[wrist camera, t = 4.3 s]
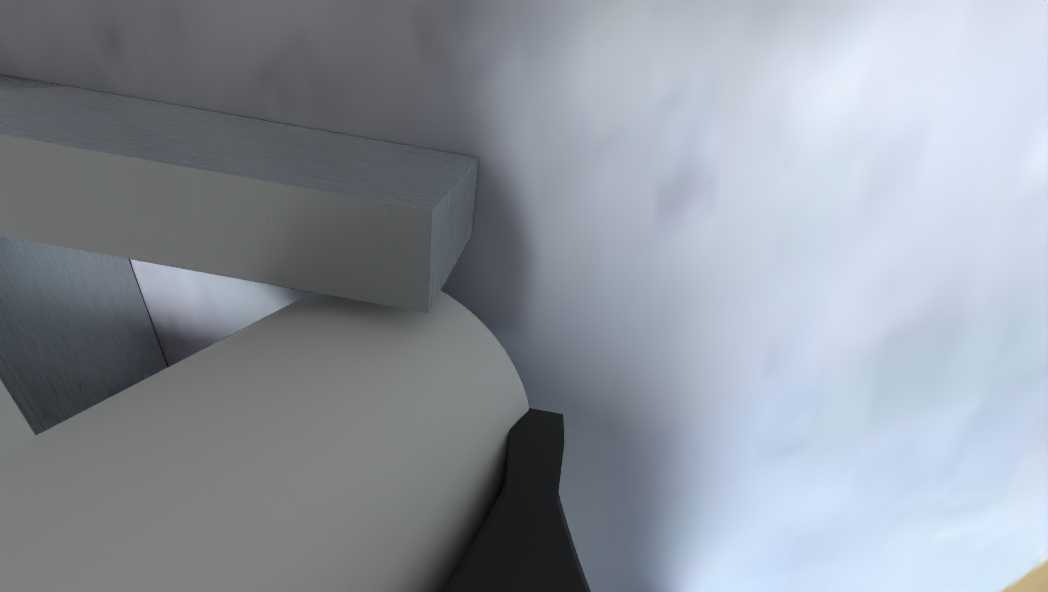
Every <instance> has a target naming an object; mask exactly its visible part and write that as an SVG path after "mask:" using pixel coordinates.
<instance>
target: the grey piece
mask: <svg viewBox="0 0 1048 592" xmlns="http://www.w3.org/2000/svg"><path fill="white" fill-rule="evenodd" d="M478 161H479V158H477V157H472V156H466V155H460V154H455V153H449V152H443V151H437V150H432V149H426V148H420V147H414V146H409V145H403V144H397V143H391V142H386V141H380V140H374V139H368V138H363V137H357V136H351V135H346V134H340V133H334V132H328V131H323V130H317V129H311V128H305V127H300V126H294V125H288V124H282V123H277V122H271V121H265V120H259V119H254V118H248V117H242V116H237V115H231V114H225V113H219V112H214V111H208V110H202V109H196V108H191V107H185V106H179V105H173V104H168V103H162V102H156V101H150V100H145V99H139V98H133V97H128V96H122V95H116V94H110V93H105V92H99V91H93V90H87V89H82V88H76V87H70V86H64V85H59V84H53V83H47V82H41V81H36V80H30V79H24V78H19V77H13V76H7V75H1V74H0V454H1V453H3V452H5V451H7V450H9V449H11V448H13V447H15V446H17V445H19V444H21V443H23V442H25V441H27V440H28V439H30V438H32V437H34V436H36V435H38V434H40V433H42V432H44V431H46V430H48V429H50V428H52V427H54V426H56V425H58V424H59V423H61V422H63V421H65V420H67V419H69V418H71V417H73V416H75V415H77V414H79V413H81V412H83V411H85V410H87V409H88V408H90V407H92V406H94V405H96V404H98V403H100V402H102V401H104V400H106V399H108V398H110V397H112V396H114V395H116V394H118V393H119V392H121V391H123V390H125V389H127V388H129V387H131V386H133V385H135V384H137V383H139V382H141V381H143V380H145V379H147V378H148V377H150V376H152V375H154V374H156V373H158V372H160V371H162V370H164V369H166V368H167V365H166V362H165V359H164V357H163V354H162V351H161V348H160V345H159V343H158V340H157V337H156V334H155V332H154V329H153V326H152V323H151V320H150V318H149V315H148V312H147V309H146V306H145V304H144V301H143V298H142V295H141V292H140V290H139V287H138V284H137V281H136V278H135V276H134V273H133V270H132V267H131V264H130V262H129V259H132V260H138V261H144V262H149V263H155V264H160V265H166V266H171V267H177V268H182V269H188V270H193V271H199V272H204V273H210V274H215V275H221V276H227V277H232V278H238V279H243V280H249V281H254V282H260V283H265V284H271V285H276V286H282V287H287V288H293V289H298V290H304V291H309V292H315V293H321V294H326V295H332V296H337V297H343V298H348V299H354V300H359V301H365V302H370V303H376V304H381V305H387V306H393V307H398V308H404V309H409V310H415V311H420V312H426V313H429V311H430V309H431V307H432V305H433V304H434V302H435V300H436V298H437V296H438V295H439V293H440V291H441V289H442V287H443V286H444V284H445V282H446V280H447V278H448V277H449V275H450V273H451V271H452V269H453V268H454V266H455V264H456V262H457V260H458V259H459V257H460V255H461V253H462V251H463V250H464V248H465V246H466V244H467V242H468V241H469V239H470V237H471V235H472V227H473V216H474V205H475V194H476V183H477V172H478Z"/></svg>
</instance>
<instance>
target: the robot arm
mask: <svg viewBox="0 0 1048 592" xmlns="http://www.w3.org/2000/svg"><path fill="white" fill-rule="evenodd" d="M563 449H564V424H563V414H558V413H552V412H547V411H542V410H536V409H531V408H529V410H528V411H527V412H526V413H525V414H524V415H523V416H522V417H521V418H520V419H519V420H518V421H517V422H516V423H515V424H514V425H513V426H512V427H511V429H510V431H509V437H508V445H507V453H506V461H505V468H504V475H503V482H502V488H501V494H500V496H499V497H498V499H497V501H496V503H495V505H494V507H493V509H492V510H491V512H490V514H489V516H488V518H487V520H486V521H485V523H484V525H483V527H482V529H481V531H480V532H479V534H478V536H477V537H476V539H475V541H474V542H473V544H472V546H471V548H470V549H469V551H468V552H467V554H466V556H465V557H464V559H463V561H462V562H461V564H460V565H459V567H458V568H457V570H456V572H455V573H454V575H453V576H452V578H451V579H450V581H449V582H448V584H447V585H446V587H445V588H444V590H443V591H442V592H591V591H590V589H589V586H588V584H587V581H586V578H585V576H584V573H583V570H582V567H581V564H580V562H579V559H578V556H577V553H576V550H575V547H574V544H573V541H572V538H571V535H570V531H569V528H568V525H567V522H566V518H565V515H564V512H563V508H562V504H561V501H560V497H559V493H558V490H559V482H560V474H561V465H562V457H563Z"/></svg>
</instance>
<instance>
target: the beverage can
mask: <svg viewBox="0 0 1048 592" xmlns="http://www.w3.org/2000/svg"><path fill="white" fill-rule="evenodd" d="M528 410H529V404H528V399H527V396H526V392H525V389H524V386H523V383H522V381H521V379H520V376H519V374H518V372H517V370H516V368H515V366H514V364H513V362H512V361H511V359H510V357H509V356H508V354H507V353H506V351H505V350H504V348H503V347H502V345H501V344H500V342H499V341H498V340H497V339H496V337H495V336H494V335H493V334H492V332H491V331H490V330H489V329H488V328H487V327H486V326H485V325H484V324H483V323H482V322H481V321H480V320H479V319H478V318H477V317H476V316H475V315H474V314H473V313H472V312H471V311H469V310H468V309H467V308H466V307H464V306H463V305H462V304H461V303H459V302H458V301H456V300H455V299H454V298H452V297H451V296H449V295H447V294H446V293H444V292H442V291H440V293H439V295H438V296H437V298H436V300H435V302H434V304H433V305H432V307H431V309H430V311H429V313H426V312H420V311H415V310H409V309H404V308H398V307H393V306H387V305H381V304H376V303H370V302H365V301H359V300H354V299H348V298H343V297H337V296H332V295H326V294H321V293H315V292H313V293H311V294H309V295H307V296H305V297H303V298H301V299H300V300H298V301H296V302H294V303H292V304H290V305H288V306H286V307H284V308H282V309H280V310H278V311H276V312H274V313H272V314H270V315H269V316H267V317H265V318H263V319H261V320H259V321H257V322H255V323H253V324H251V325H249V326H247V327H245V328H243V329H241V330H239V331H238V332H236V333H234V334H232V335H230V336H228V337H226V338H224V339H222V340H220V341H218V342H216V343H214V344H212V345H210V346H209V347H207V348H205V349H203V350H201V351H199V352H197V353H195V354H193V355H191V356H189V357H187V358H185V359H183V360H181V361H179V362H178V363H176V364H174V365H172V366H170V367H168V368H166V369H164V370H162V371H160V372H158V373H156V374H154V375H152V376H150V377H148V378H147V379H145V380H143V381H141V382H139V383H137V384H135V385H133V386H131V387H129V388H127V389H125V390H123V391H121V392H119V393H118V394H116V395H114V396H112V397H110V398H108V399H106V400H104V401H102V402H100V403H98V404H96V405H94V406H92V407H90V408H88V409H87V410H85V411H83V412H81V413H79V414H77V415H75V416H73V417H71V418H69V419H67V420H65V421H63V422H61V423H59V424H58V425H56V426H54V427H52V428H50V429H48V430H46V431H44V432H42V433H40V434H38V435H36V436H34V437H32V438H30V439H28V440H27V441H25V442H23V443H21V444H19V445H17V446H15V447H13V448H11V449H9V450H7V451H5V452H3V453H1V454H0V592H442V591H443V590H444V588H445V587H446V585H447V584H448V582H449V581H450V579H451V578H452V576H453V575H454V573H455V572H456V570H457V568H458V567H459V565H460V564H461V562H462V561H463V559H464V557H465V556H466V554H467V552H468V551H469V549H470V548H471V546H472V544H473V542H474V541H475V539H476V537H477V536H478V534H479V532H480V531H481V529H482V527H483V525H484V523H485V521H486V520H487V518H488V516H489V514H490V512H491V510H492V509H493V507H494V505H495V503H496V501H497V499H498V497H499V496H500V494H501V488H502V482H503V475H504V468H505V461H506V453H507V445H508V437H509V431H510V429H511V427H512V426H513V425H514V424H515V423H516V422H517V421H518V420H519V419H520V418H521V417H522V416H523V415H524V414H525V413H526V412H527V411H528Z"/></svg>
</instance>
